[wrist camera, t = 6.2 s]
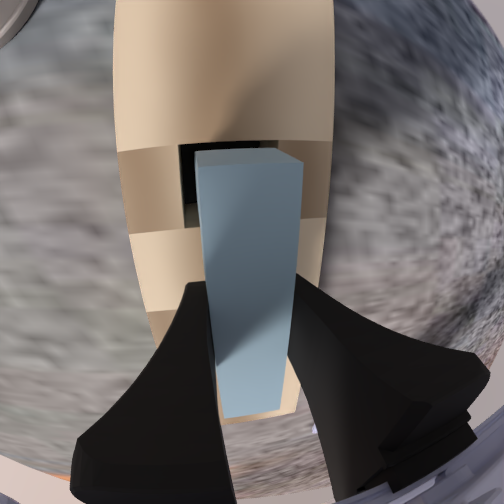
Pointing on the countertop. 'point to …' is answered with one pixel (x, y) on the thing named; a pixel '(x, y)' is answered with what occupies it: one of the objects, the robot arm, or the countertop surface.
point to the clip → (249, 268)
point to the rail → (217, 127)
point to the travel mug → (13, 17)
